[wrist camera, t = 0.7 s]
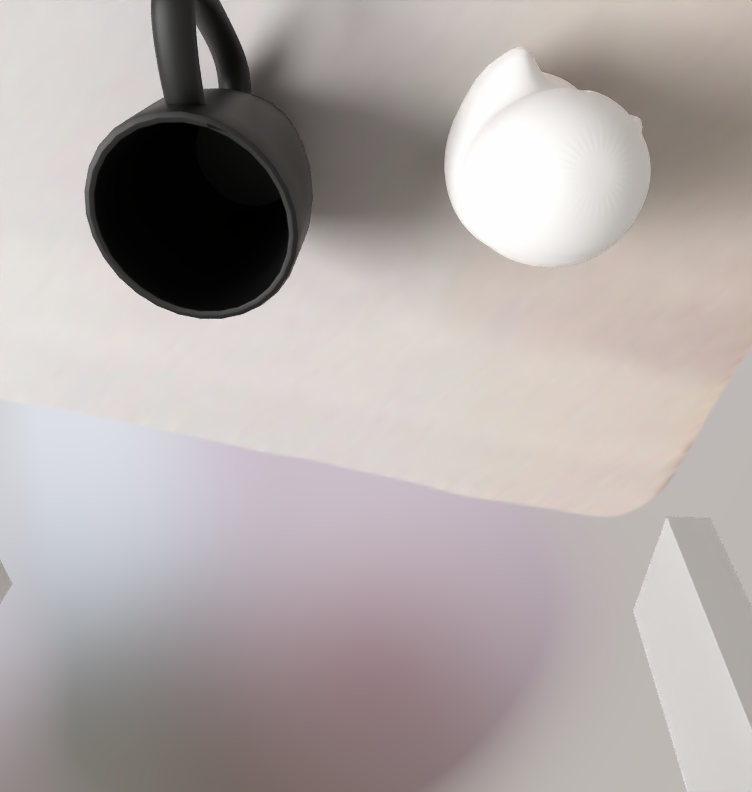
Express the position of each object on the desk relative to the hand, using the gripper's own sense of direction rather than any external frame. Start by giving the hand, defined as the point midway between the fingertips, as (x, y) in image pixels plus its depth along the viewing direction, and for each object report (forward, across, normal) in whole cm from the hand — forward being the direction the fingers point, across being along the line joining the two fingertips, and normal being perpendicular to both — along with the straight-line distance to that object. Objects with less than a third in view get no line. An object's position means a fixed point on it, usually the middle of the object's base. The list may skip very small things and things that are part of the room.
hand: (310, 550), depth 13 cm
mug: (+25, -6, +2) cm, 26 cm away
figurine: (+25, +7, +1) cm, 26 cm away
